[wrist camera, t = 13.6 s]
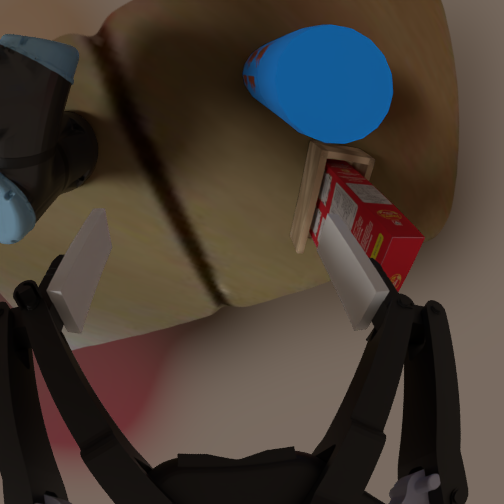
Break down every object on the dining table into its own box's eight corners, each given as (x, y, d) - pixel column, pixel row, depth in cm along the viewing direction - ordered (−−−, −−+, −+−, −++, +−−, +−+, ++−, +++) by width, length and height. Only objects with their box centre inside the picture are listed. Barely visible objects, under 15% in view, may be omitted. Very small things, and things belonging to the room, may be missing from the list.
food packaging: (329, 226, 57) (382, 319, 37) (306, 226, 56) (353, 323, 36) (344, 160, 48) (424, 237, 28) (319, 157, 47) (392, 237, 27)
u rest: (289, 235, 57) (297, 253, 53) (309, 140, 45) (321, 150, 41) (334, 236, 59) (344, 253, 55) (360, 148, 47) (375, 159, 42)
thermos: (320, 74, 38) (414, 92, 18) (278, 117, 42) (339, 169, 23) (270, 32, 33) (332, -1, 13) (227, 78, 37) (242, 87, 18)
